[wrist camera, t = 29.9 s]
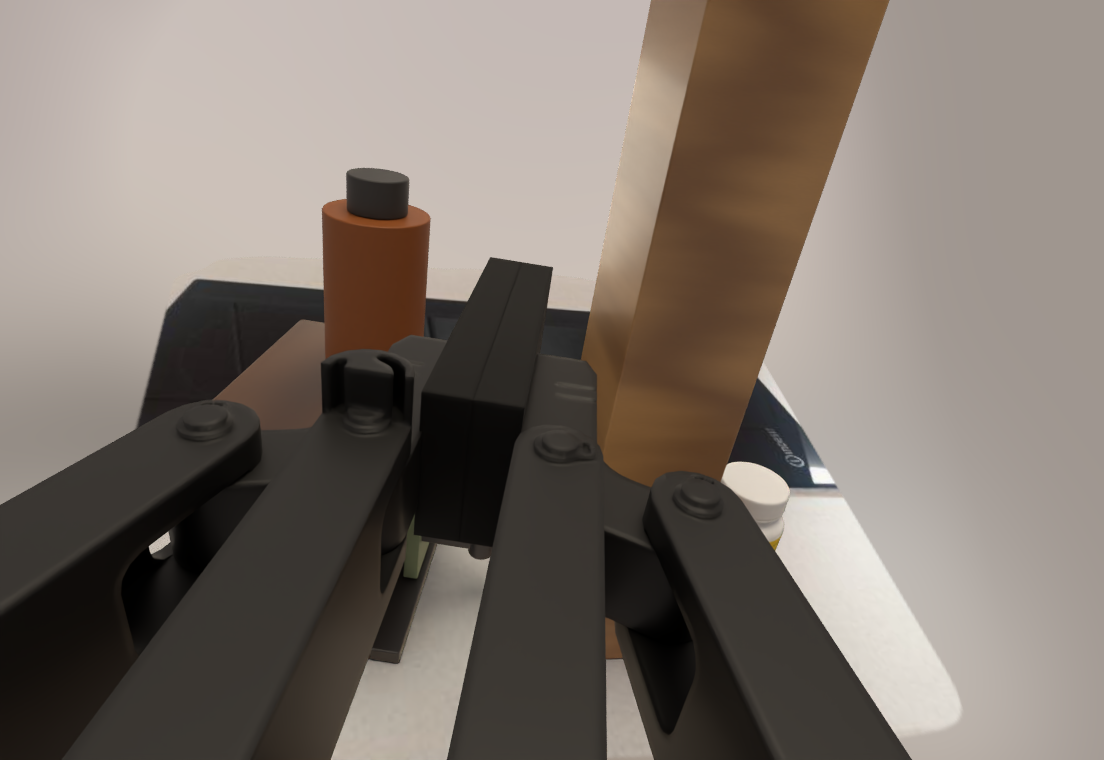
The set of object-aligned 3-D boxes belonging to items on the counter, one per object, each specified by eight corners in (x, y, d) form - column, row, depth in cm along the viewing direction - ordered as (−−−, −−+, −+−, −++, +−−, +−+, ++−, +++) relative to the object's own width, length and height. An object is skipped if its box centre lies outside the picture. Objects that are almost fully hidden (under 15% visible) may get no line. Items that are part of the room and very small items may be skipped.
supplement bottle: (767, 594, 40) (813, 491, 36) (726, 629, 37) (771, 520, 33) (707, 549, 43) (743, 449, 39) (664, 577, 40) (698, 472, 36)
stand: (630, 574, 40) (828, -106, 23) (659, 656, 34) (940, -142, 18) (538, 576, 38) (678, -143, 22) (554, 661, 33) (752, -195, 17)
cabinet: (451, 501, 43) (466, 345, 38) (398, 664, 32) (408, 475, 26) (307, 478, 43) (301, 318, 37) (202, 633, 32) (170, 437, 26)
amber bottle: (435, 382, 33) (450, 178, 28) (390, 422, 29) (398, 194, 24) (360, 359, 34) (361, 158, 29) (306, 395, 30) (297, 170, 25)
